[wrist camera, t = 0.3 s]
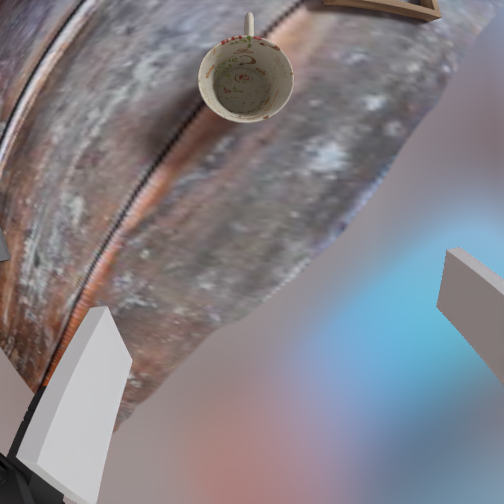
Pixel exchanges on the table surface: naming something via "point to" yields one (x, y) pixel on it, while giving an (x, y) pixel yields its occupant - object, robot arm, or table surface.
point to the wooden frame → (395, 7)
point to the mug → (245, 77)
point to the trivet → (3, 248)
